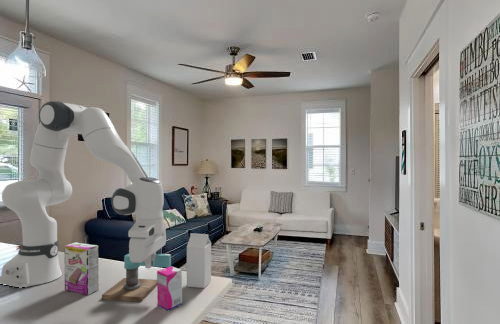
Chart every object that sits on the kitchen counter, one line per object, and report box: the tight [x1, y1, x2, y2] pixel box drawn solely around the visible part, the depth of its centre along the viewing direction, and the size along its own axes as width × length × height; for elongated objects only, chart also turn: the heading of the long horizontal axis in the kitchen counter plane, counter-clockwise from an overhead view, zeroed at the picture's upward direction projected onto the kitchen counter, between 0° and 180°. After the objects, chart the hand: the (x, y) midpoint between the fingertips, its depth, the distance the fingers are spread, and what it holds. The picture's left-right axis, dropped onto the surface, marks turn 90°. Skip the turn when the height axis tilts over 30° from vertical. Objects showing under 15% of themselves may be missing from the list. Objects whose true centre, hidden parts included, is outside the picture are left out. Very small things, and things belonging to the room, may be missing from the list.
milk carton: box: [186, 233, 212, 289], centre depth 113 cm, size 7×7×19 cm
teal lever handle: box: [123, 253, 172, 270], centre depth 105 cm, size 17×5×5 cm, turn 84°
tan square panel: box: [101, 267, 157, 303], centre depth 106 cm, size 14×14×9 cm
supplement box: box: [156, 265, 183, 312], centre depth 96 cm, size 6×6×12 cm
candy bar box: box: [63, 241, 99, 296], centre depth 106 cm, size 11×5×16 cm, turn 71°
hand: (149, 266), depth 100 cm, fingers closed
